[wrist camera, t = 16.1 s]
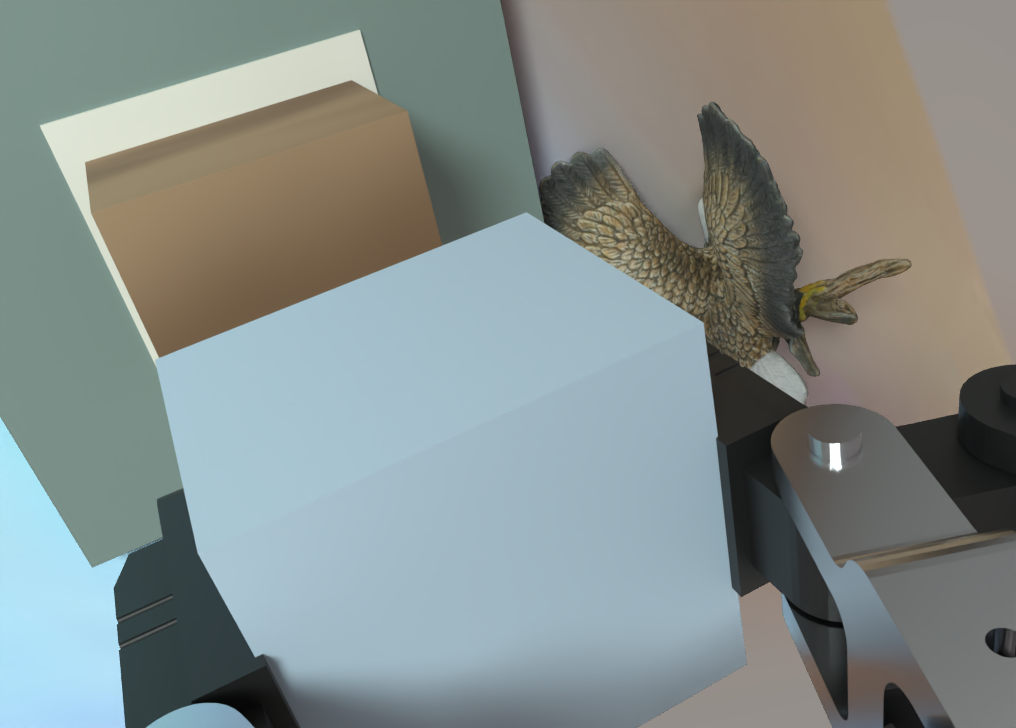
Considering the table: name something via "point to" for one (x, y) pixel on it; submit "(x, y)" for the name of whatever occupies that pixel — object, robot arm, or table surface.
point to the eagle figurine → (712, 250)
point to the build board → (168, 111)
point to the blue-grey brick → (466, 492)
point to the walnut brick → (261, 210)
